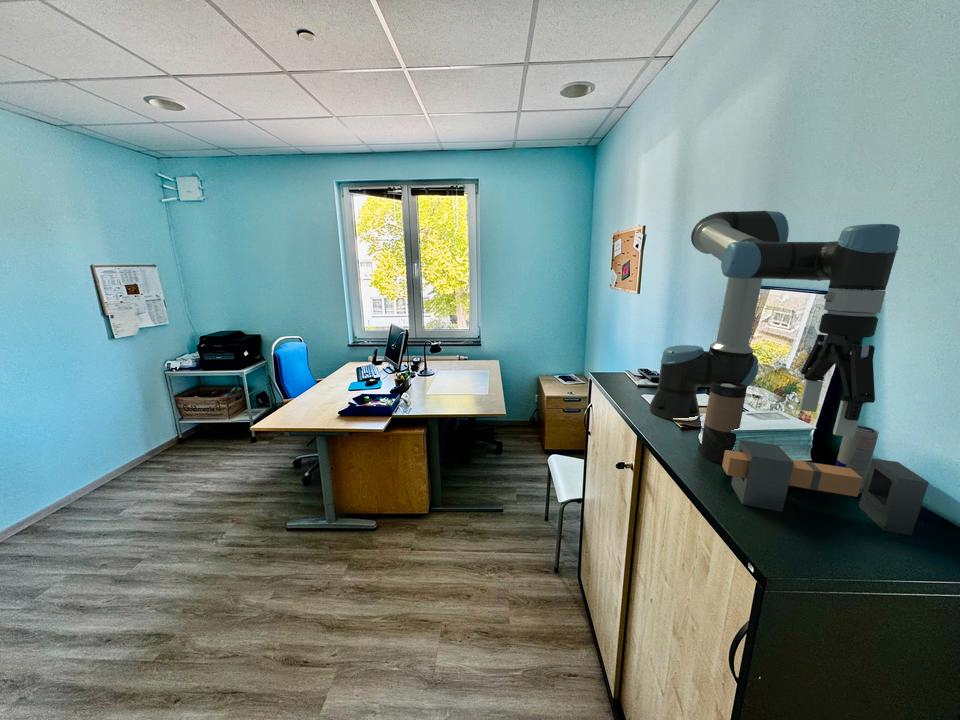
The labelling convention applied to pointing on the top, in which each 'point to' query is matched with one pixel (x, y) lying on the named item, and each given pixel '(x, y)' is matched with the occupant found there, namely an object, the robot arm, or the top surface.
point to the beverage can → (858, 451)
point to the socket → (893, 496)
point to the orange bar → (804, 474)
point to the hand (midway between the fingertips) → (823, 422)
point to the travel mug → (722, 418)
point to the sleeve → (763, 476)
